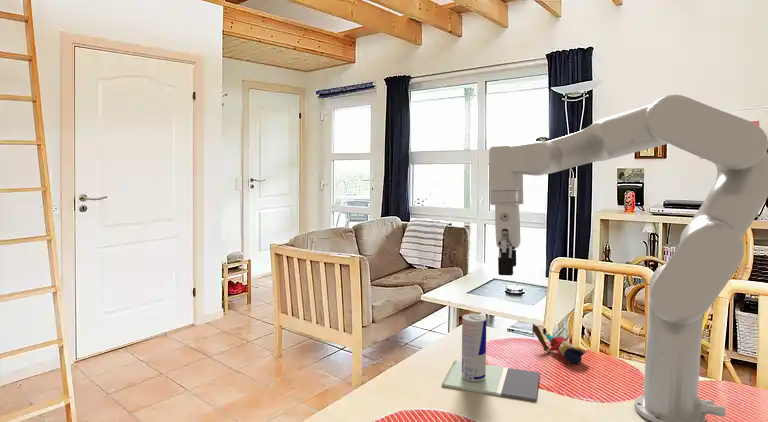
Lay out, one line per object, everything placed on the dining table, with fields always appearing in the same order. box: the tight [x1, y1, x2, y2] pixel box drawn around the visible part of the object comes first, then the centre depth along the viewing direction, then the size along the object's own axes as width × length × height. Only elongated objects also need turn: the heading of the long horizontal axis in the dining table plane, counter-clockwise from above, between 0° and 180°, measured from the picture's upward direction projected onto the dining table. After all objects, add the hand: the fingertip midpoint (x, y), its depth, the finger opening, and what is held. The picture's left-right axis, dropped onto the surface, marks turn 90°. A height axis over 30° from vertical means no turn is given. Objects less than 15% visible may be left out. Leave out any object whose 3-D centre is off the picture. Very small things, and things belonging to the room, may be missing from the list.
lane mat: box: [441, 359, 541, 402], centre depth 117 cm, size 21×14×1 cm, turn 70°
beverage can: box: [461, 313, 487, 382], centre depth 116 cm, size 6×6×15 cm
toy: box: [532, 323, 587, 365], centre depth 131 cm, size 9×6×15 cm
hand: (507, 270), depth 115 cm, fingers open, 9 cm apart
